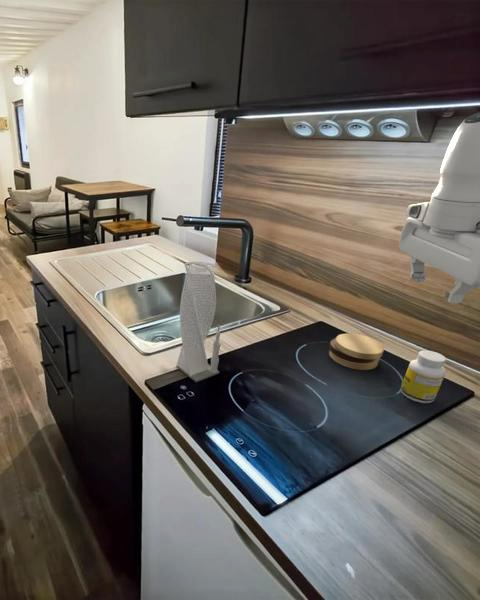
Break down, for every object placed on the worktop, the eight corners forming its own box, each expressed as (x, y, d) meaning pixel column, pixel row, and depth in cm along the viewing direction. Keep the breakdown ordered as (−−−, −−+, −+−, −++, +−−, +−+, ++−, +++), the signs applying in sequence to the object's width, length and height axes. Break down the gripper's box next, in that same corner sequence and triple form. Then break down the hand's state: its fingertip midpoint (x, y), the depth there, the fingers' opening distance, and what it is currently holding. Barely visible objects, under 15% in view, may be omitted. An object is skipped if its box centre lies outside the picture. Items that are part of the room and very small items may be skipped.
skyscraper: (191, 384, 83) (201, 268, 71) (168, 366, 89) (174, 257, 78) (219, 373, 86) (233, 260, 74) (195, 356, 92) (205, 250, 81)
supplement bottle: (401, 383, 79) (416, 345, 75) (435, 394, 75) (452, 354, 71) (397, 396, 75) (412, 356, 71) (432, 408, 72) (450, 367, 68)
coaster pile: (364, 348, 91) (369, 332, 90) (387, 371, 83) (393, 354, 81) (321, 346, 93) (325, 331, 91) (339, 369, 84) (343, 352, 83)
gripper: (543, 230, 51) (502, 317, 57) (440, 203, 70) (416, 271, 75) (490, 231, 52) (455, 316, 58) (402, 204, 71) (382, 271, 77)
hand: (432, 290), depth 67 cm, fingers open, 8 cm apart
